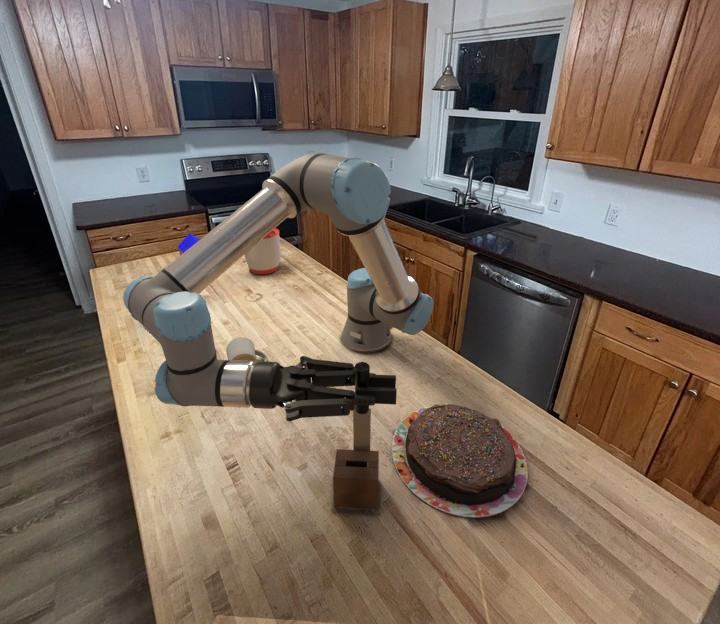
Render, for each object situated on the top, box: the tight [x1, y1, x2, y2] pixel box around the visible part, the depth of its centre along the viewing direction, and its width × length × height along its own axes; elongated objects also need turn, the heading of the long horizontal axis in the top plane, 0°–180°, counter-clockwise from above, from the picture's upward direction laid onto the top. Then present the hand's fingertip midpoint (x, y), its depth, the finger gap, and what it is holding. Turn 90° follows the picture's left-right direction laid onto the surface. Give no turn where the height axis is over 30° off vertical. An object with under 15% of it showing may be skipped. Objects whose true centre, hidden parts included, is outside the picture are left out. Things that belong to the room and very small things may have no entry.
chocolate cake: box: [391, 403, 530, 519], centre depth 81 cm, size 28×28×7 cm
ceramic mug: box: [225, 336, 269, 363], centre depth 108 cm, size 11×8×8 cm
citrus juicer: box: [244, 227, 282, 276], centre depth 164 cm, size 16×17×20 cm
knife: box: [352, 361, 372, 452], centre depth 66 cm, size 3×2×19 cm
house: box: [177, 233, 201, 256], centre depth 171 cm, size 12×20×12 cm, turn 37°
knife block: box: [332, 448, 380, 511], centre depth 72 cm, size 8×6×9 cm
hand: (395, 389), depth 64 cm, fingers closed on knife, 2 cm apart
